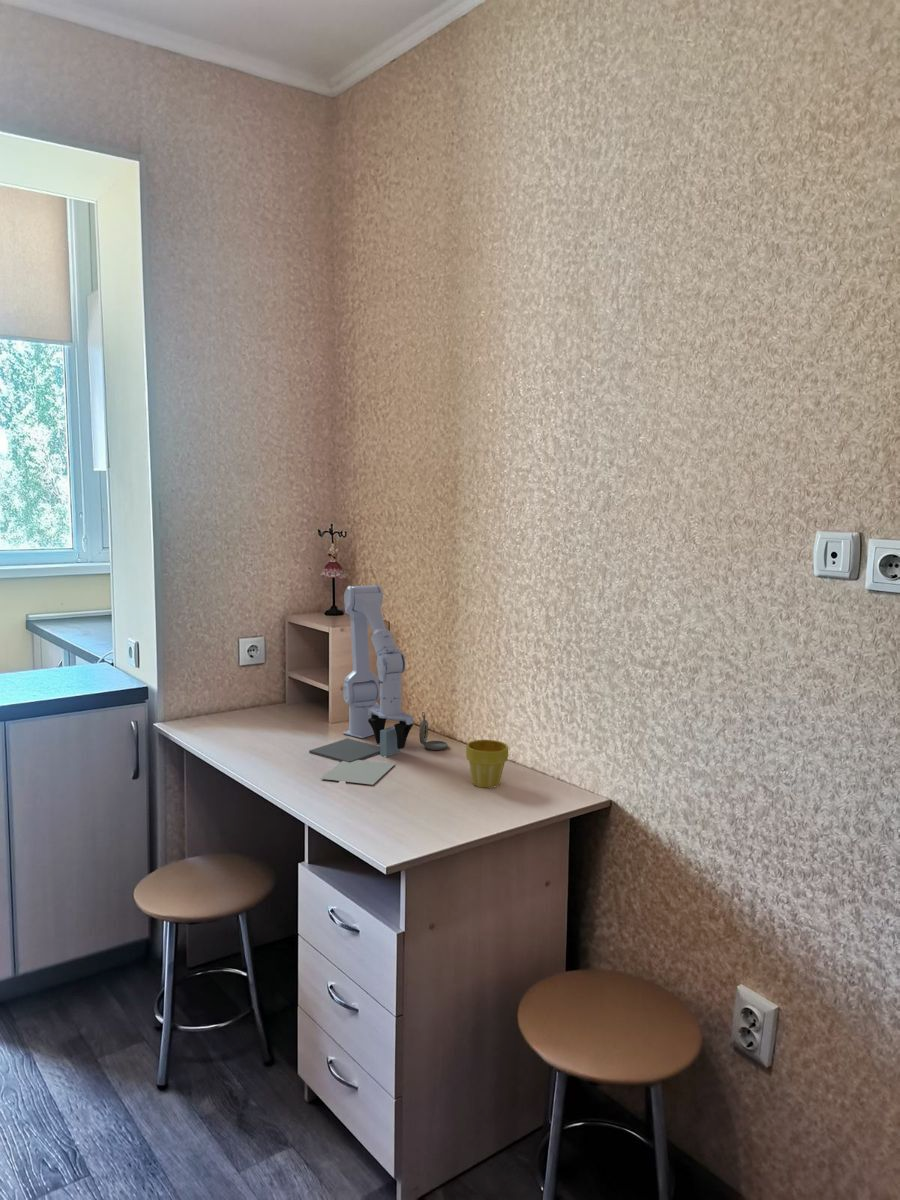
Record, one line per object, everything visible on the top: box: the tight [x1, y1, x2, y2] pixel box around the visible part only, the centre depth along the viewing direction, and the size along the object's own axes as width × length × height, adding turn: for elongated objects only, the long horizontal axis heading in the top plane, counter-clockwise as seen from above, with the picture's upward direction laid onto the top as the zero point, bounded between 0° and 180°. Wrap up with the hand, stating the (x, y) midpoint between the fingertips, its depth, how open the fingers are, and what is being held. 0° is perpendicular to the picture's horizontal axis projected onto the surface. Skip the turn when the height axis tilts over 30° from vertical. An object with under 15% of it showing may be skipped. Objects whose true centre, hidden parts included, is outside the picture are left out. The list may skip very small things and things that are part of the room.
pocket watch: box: [418, 711, 448, 751], centre depth 242 cm, size 8×8×10 cm
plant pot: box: [465, 739, 509, 788], centre depth 213 cm, size 10×10×10 cm
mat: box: [308, 738, 380, 762], centre depth 237 cm, size 15×15×1 cm
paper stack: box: [319, 759, 396, 785], centre depth 215 cm, size 23×25×1 cm
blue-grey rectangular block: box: [379, 725, 402, 757], centre depth 236 cm, size 6×2×7 cm, turn 143°
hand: (390, 745), depth 236 cm, fingers open, 7 cm apart
